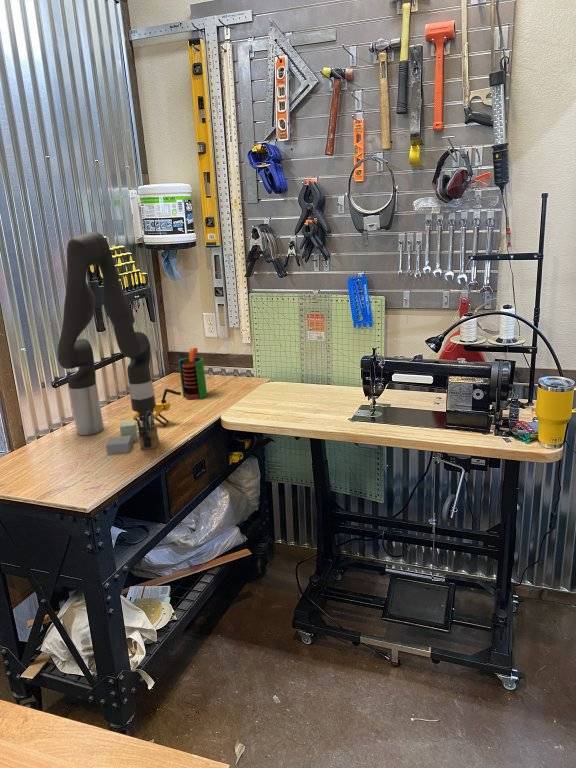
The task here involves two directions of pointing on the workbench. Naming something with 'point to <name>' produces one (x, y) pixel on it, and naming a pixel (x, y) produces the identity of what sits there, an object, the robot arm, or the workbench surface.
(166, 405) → the robot dog
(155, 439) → the walnut block
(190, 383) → the motor
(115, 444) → the base block
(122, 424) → the sage block
